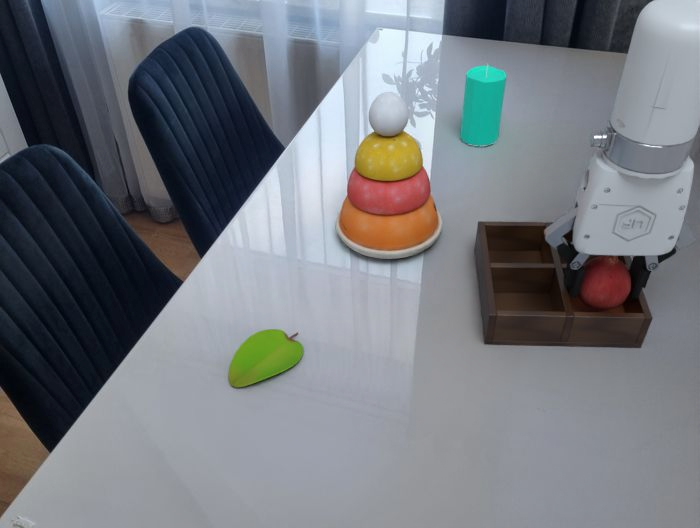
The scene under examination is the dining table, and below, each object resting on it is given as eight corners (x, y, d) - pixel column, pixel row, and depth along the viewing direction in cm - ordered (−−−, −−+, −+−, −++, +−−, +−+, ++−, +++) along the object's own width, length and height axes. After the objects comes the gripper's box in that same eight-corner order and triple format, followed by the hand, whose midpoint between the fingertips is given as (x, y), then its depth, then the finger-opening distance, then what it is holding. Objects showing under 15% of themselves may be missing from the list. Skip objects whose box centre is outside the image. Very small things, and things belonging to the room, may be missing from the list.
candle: (483, 151, 107) (493, 76, 98) (452, 139, 110) (459, 64, 101) (505, 136, 110) (516, 62, 101) (474, 125, 113) (482, 51, 104)
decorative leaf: (311, 377, 75) (311, 371, 75) (231, 391, 74) (230, 386, 73) (296, 327, 80) (296, 321, 79) (221, 340, 78) (220, 334, 78)
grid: (609, 251, 88) (618, 222, 85) (641, 347, 76) (652, 318, 73) (474, 250, 90) (478, 221, 86) (484, 344, 78) (489, 315, 74)
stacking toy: (455, 257, 89) (470, 116, 74) (348, 274, 87) (342, 133, 73) (424, 198, 98) (432, 63, 84) (327, 211, 96) (319, 76, 82)
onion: (561, 313, 78) (576, 258, 73) (580, 285, 81) (596, 231, 76) (611, 332, 76) (630, 277, 70) (629, 303, 79) (648, 248, 73)
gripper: (559, 165, 62) (527, 311, 75) (756, 166, 61) (689, 314, 74) (547, 124, 67) (520, 268, 80) (728, 124, 66) (671, 270, 79)
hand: (601, 289), depth 77 cm, fingers closed on onion, 5 cm apart
